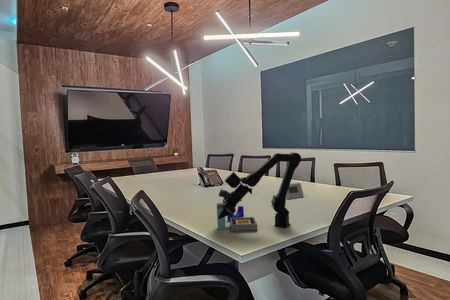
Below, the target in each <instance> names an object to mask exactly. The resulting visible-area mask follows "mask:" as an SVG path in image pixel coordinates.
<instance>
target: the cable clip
mask: <svg viewBox="0 0 450 300" xmlns="http://www.w3.org/2000/svg"><path fill="white" fill-rule="evenodd" d="M244 213H245V211H244V206H242V205H238V206H237V210H236V212H235V213H234V214H231V215H228V216H226V217H227V221H230V218H242V217H244V216H245V214H244Z"/></svg>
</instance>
